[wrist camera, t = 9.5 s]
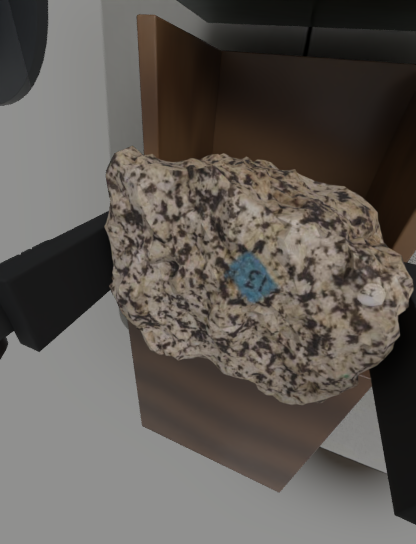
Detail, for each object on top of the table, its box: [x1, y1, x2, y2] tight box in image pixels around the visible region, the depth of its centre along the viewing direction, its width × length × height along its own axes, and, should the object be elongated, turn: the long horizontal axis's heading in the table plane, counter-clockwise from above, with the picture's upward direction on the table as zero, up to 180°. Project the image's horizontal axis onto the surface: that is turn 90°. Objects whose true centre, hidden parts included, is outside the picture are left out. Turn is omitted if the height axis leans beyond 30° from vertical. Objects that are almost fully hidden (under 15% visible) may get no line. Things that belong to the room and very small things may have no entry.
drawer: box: [137, 0, 416, 263], centre depth 13 cm, size 22×13×9 cm, turn 177°
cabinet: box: [127, 319, 372, 492], centre depth 24 cm, size 19×15×11 cm
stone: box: [104, 146, 413, 405], centre depth 9 cm, size 9×5×10 cm
